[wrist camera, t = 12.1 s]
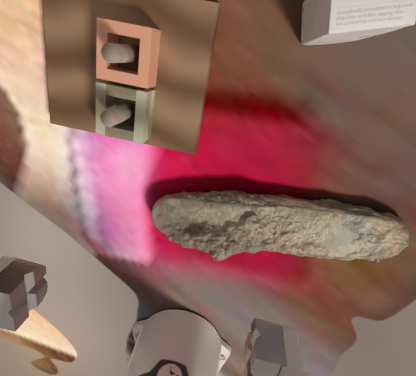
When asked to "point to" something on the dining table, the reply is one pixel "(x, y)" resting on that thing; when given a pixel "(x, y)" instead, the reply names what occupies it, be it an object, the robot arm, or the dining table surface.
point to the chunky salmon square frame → (147, 53)
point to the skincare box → (353, 19)
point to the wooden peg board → (131, 69)
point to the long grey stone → (278, 226)
